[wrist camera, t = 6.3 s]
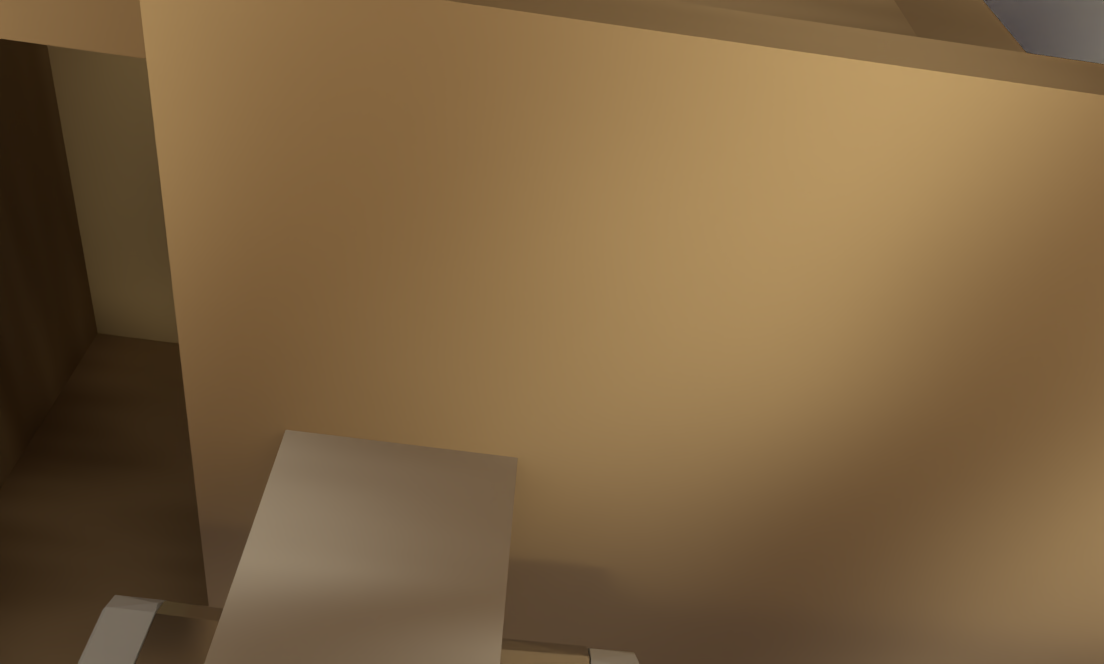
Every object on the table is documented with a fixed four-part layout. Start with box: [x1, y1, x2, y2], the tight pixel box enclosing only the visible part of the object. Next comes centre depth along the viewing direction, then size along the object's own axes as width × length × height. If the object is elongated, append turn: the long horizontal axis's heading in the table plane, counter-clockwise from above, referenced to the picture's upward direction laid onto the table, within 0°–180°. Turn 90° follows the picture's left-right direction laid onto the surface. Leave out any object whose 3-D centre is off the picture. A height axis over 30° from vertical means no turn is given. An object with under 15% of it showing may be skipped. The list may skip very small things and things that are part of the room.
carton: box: [0, 0, 1026, 664], centre depth 16 cm, size 14×13×10 cm
